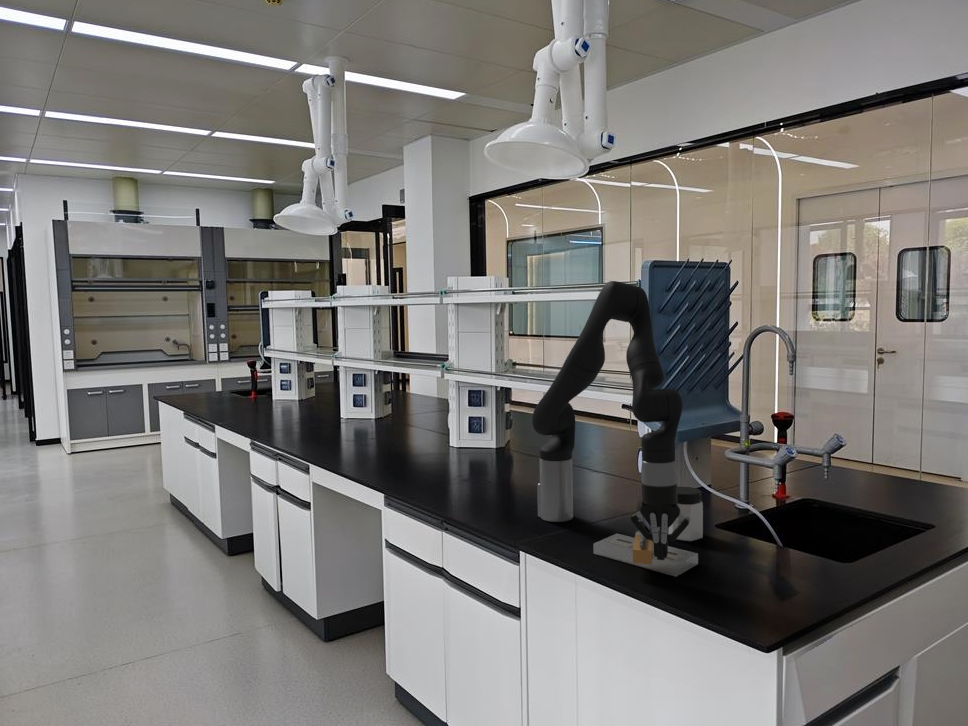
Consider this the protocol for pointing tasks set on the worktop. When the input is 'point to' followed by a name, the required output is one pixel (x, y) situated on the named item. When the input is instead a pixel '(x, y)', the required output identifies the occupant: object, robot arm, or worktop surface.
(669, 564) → the plate
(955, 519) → the worktop surface
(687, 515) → the jar
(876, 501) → the worktop surface
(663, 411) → the robot arm
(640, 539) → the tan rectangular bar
